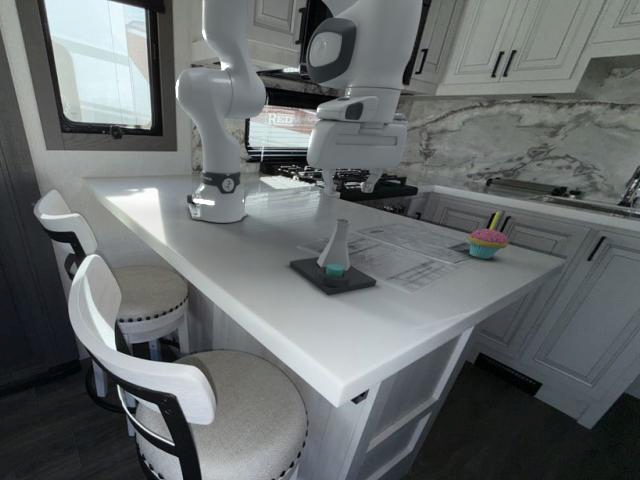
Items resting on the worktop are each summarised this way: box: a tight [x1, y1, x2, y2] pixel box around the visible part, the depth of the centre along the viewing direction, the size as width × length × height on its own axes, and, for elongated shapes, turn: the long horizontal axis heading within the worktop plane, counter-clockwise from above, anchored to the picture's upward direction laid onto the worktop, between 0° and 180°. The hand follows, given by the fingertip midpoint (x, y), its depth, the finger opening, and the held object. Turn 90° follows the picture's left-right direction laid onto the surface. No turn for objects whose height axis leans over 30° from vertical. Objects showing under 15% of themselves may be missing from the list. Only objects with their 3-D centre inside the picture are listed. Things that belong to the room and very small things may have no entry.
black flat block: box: [289, 256, 378, 296], centre depth 65 cm, size 14×12×3 cm
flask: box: [317, 218, 352, 271], centre depth 65 cm, size 7×7×10 cm
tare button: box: [326, 264, 344, 278], centre depth 60 cm, size 3×3×2 cm
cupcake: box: [467, 208, 510, 260], centre depth 79 cm, size 9×8×12 cm
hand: (348, 192), depth 60 cm, fingers open, 8 cm apart
